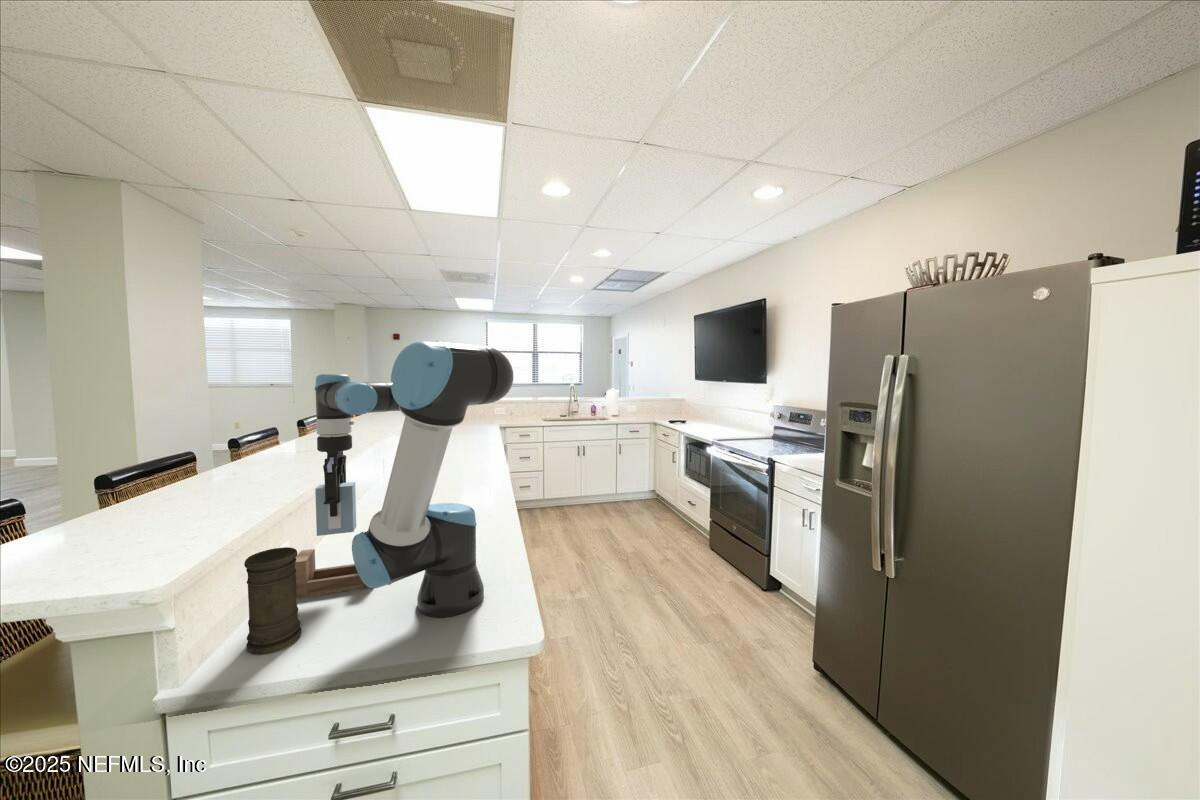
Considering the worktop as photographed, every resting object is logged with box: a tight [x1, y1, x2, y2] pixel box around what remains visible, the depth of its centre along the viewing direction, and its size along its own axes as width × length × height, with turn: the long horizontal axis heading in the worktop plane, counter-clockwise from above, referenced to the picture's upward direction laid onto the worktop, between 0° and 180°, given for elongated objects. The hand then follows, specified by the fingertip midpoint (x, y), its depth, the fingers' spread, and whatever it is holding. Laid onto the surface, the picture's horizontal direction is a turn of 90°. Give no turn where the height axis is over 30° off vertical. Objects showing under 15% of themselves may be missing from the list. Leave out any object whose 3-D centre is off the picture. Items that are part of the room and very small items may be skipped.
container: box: [243, 546, 303, 656], centre depth 84 cm, size 9×9×18 cm
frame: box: [295, 548, 369, 599], centre depth 108 cm, size 8×18×9 cm, turn 111°
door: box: [314, 481, 357, 537], centre depth 107 cm, size 4×8×12 cm, turn 111°
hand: (337, 524), depth 107 cm, fingers closed on door, 4 cm apart
